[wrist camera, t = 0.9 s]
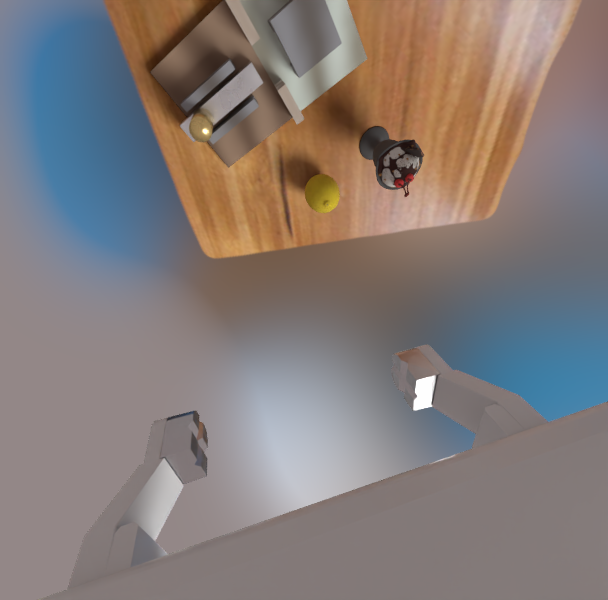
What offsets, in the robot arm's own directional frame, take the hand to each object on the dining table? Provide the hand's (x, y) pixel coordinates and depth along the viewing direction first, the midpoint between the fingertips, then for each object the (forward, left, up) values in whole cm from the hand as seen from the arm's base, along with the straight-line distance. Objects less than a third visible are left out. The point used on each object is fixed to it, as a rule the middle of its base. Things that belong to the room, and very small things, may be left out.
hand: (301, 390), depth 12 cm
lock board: (-5, -4, -43) cm, 44 cm away
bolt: (+2, -4, -42) cm, 42 cm away
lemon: (-3, +14, -44) cm, 46 cm away
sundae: (-14, +14, -44) cm, 48 cm away
